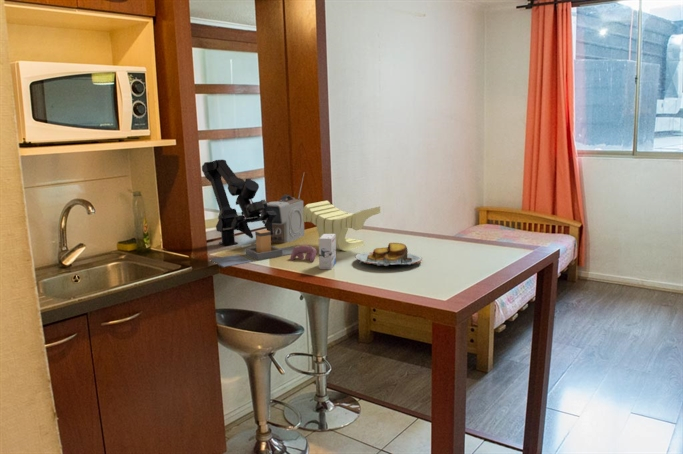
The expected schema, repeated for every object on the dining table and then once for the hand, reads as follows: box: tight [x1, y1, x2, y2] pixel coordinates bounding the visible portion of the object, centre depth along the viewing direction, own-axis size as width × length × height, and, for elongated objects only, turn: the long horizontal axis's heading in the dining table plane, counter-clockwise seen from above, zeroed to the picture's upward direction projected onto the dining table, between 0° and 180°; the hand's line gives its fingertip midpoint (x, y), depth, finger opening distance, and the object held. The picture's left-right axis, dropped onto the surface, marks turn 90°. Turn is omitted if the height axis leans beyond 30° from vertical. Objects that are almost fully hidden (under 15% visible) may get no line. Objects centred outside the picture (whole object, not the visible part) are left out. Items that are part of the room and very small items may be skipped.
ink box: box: [318, 234, 337, 270], centre depth 215 cm, size 9×5×12 cm, turn 168°
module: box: [254, 229, 272, 253], centre depth 232 cm, size 5×5×10 cm
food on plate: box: [355, 242, 423, 267], centre depth 219 cm, size 25×25×7 cm
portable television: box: [260, 172, 305, 244], centre depth 260 cm, size 12×24×30 cm, turn 157°
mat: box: [209, 254, 254, 269], centre depth 226 cm, size 14×12×1 cm
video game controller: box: [290, 244, 318, 263], centre depth 226 cm, size 10×5×7 cm, turn 71°
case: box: [245, 245, 296, 261], centre depth 236 cm, size 11×22×3 cm, turn 125°
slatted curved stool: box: [303, 200, 381, 252], centre depth 245 cm, size 30×16×18 cm, turn 49°
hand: (262, 236), depth 232 cm, fingers open, 9 cm apart
